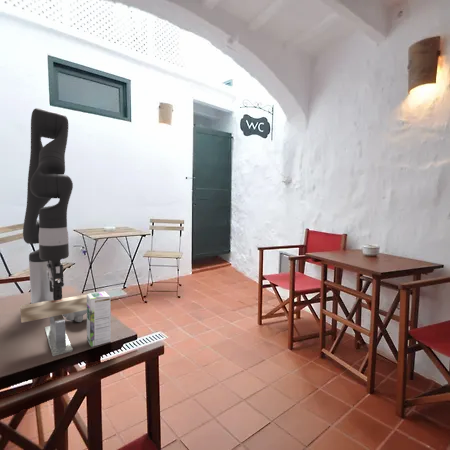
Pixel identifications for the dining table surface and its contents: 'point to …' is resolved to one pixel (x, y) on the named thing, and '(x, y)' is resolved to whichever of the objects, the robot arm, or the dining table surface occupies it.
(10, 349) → the dining table surface
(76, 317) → the chubby cartoon animal
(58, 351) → the ridge
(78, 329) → the dining table surface
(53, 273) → the robot arm
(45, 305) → the beam
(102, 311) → the syrup box
